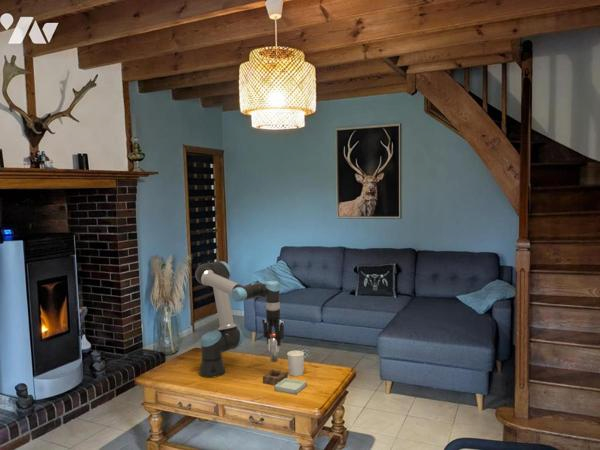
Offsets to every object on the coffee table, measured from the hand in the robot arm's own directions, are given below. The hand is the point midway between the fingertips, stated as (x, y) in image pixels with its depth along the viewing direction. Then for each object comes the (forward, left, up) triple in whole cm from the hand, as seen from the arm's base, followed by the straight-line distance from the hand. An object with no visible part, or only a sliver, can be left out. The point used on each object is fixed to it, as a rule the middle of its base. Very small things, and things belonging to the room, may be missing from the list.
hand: (274, 350), depth 255 cm
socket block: (0, 0, -17) cm, 17 cm away
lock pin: (0, 0, -6) cm, 6 cm away
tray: (+13, -5, -17) cm, 22 cm away
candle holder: (+5, +15, -18) cm, 24 cm away
